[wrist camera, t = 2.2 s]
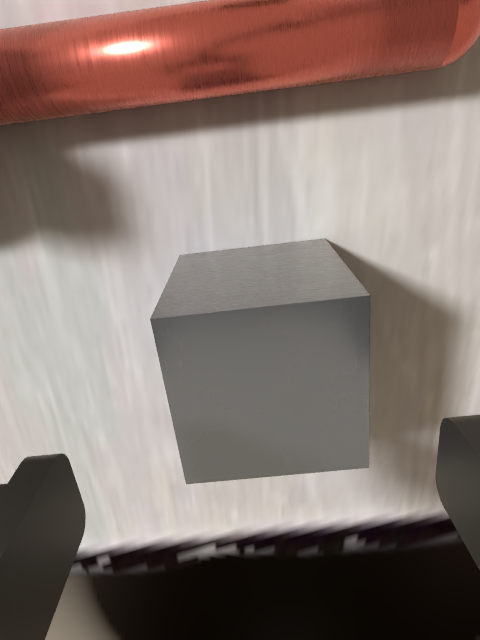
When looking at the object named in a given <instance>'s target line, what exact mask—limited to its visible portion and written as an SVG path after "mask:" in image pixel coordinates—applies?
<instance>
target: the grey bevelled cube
mask: <svg viewBox="0 0 480 640" xmlns="http://www.w3.org/2000/svg"><path fill="white" fill-rule="evenodd" d="M150 320H151V324H152V329H153V334H154V338H155V343H156V347H157V352H158V357H159V361H160V366H161V370H162V375H163V380H164V384H165V389H166V393H167V398H168V403H169V407H170V412H171V416H172V421H173V426H174V430H175V435H176V439H177V444H178V449H179V453H180V458H181V462H182V467H183V472H184V476H185V481H186V484H193V483H205V482H216V481H227V480H238V479H249V478H260V477H271V476H282V475H293V474H304V473H315V472H326V471H337V470H348V469H359V468H369V399H370V294H369V293H368V292H367V291H366V289H365V288H364V287H363V285H362V284H361V283H360V282H359V280H358V279H357V278H356V277H355V275H354V274H353V273H352V272H351V270H350V269H349V268H348V267H347V265H346V264H345V263H344V262H343V260H342V259H341V258H340V256H339V255H338V254H337V253H336V251H335V250H334V249H333V248H332V246H331V245H330V244H329V243H328V241H327V240H326V239H319V240H310V241H301V242H292V243H283V244H275V245H266V246H257V247H248V248H239V249H231V250H222V251H213V252H204V253H196V254H187V255H180V256H179V258H178V260H177V263H176V265H175V267H174V269H173V271H172V273H171V275H170V278H169V280H168V282H167V284H166V286H165V288H164V291H163V293H162V295H161V297H160V299H159V301H158V303H157V306H156V308H155V310H154V312H153V314H152V316H151V319H150Z"/></svg>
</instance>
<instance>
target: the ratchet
mask: <svg viewBox="0 0 480 640" xmlns="http://www.w3.org/2000/svg"><path fill="white" fill-rule="evenodd" d="M479 35H480V0H207V1H200V2H192V3H185V4H178V5H171V6H164V7H157V8H149V9H142V10H135V11H128V12H121V13H114V14H106V15H99V16H92V17H85V18H78V19H70V20H63V21H56V22H49V23H42V24H35V25H27V26H20V27H13V28H6V29H0V125H4V124H12V123H20V122H28V121H35V120H43V119H51V118H58V117H66V116H74V115H82V114H89V113H97V112H105V111H113V110H120V109H128V108H136V107H143V106H151V105H159V104H167V103H174V102H182V101H190V100H198V99H205V98H213V97H221V96H228V95H236V94H244V93H252V92H259V91H267V90H275V89H283V88H290V87H298V86H306V85H313V84H321V83H329V82H337V81H344V80H352V79H360V78H368V77H375V76H383V75H391V74H398V73H406V72H414V71H422V70H429V69H437V68H441V67H445V66H447V65H449V64H451V63H453V62H455V61H457V60H458V59H459V58H461V57H462V56H463V55H464V54H465V53H466V52H467V51H468V50H469V49H470V48H471V47H472V46H473V45H474V43H475V42H476V40H477V39H478V37H479Z"/></svg>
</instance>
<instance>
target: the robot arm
mask: <svg viewBox="0 0 480 640" xmlns="http://www.w3.org/2000/svg"><path fill="white" fill-rule="evenodd" d="M436 484H437V489H438V493H439V496H440V499H441V502H442V504H443V506H444V508H445V510H446V511H447V513H448V515H449V517H450V518H451V520H452V522H453V524H454V525H455V527H456V529H457V531H458V533H459V534H460V536H461V538H462V540H463V541H464V543H465V545H466V547H467V548H468V550H469V552H470V554H471V555H472V557H473V559H474V561H475V563H476V564H477V566H478V568H479V570H480V415H472V416H461V417H451V418H444V419H443V420H442V422H441V427H440V436H439V446H438V457H437V467H436ZM84 529H85V507H84V504H83V501H82V498H81V495H80V492H79V489H78V486H77V483H76V480H75V477H74V474H73V471H72V468H71V465H70V462H69V459H68V457H67V456H66V455H65V454H52V455H42V456H31V457H27V458H25V459H24V460H23V461H22V462H21V464H20V465H19V467H18V468H17V470H16V471H15V473H14V474H13V476H12V478H11V479H10V481H9V482H8V484H1V485H0V640H45V637H46V635H47V632H48V629H49V626H50V624H51V621H52V619H53V616H54V613H55V611H56V608H57V605H58V602H59V600H60V597H61V594H62V592H63V589H64V586H65V583H66V581H67V578H68V575H69V573H70V570H71V567H72V565H73V562H74V559H75V556H76V554H77V551H78V548H79V546H80V543H81V540H82V537H83V534H84Z"/></svg>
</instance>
